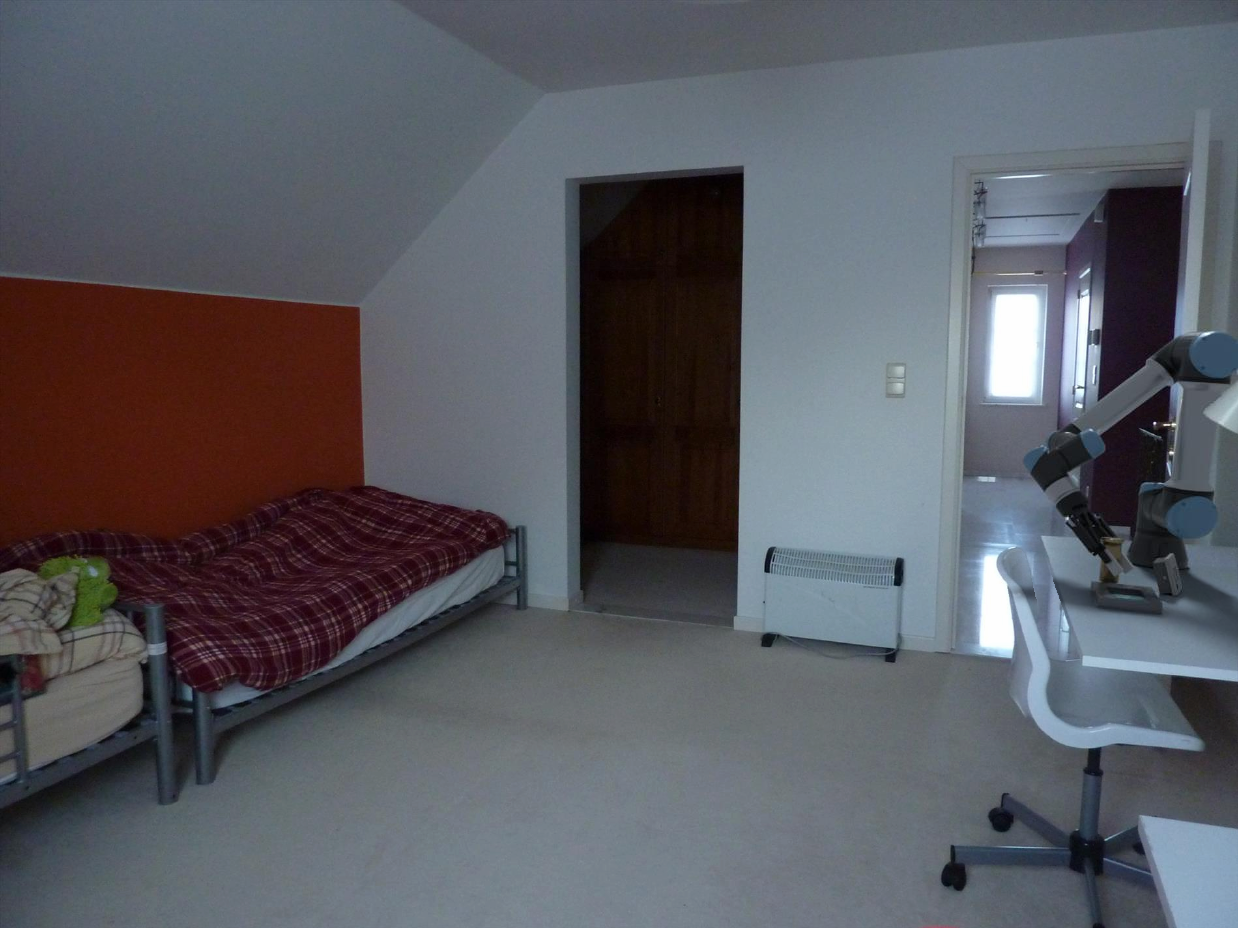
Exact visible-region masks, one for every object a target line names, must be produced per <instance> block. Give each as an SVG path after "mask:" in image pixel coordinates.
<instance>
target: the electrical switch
mask: <svg viewBox="0 0 1238 928" xmlns="http://www.w3.org/2000/svg"><path fill="white" fill-rule="evenodd" d="M1153 567H1154V568H1153ZM1153 567H1152V568H1153V572H1154V577H1155V579H1156V583H1157V584H1156V585H1157V589H1158V593H1159V594H1161V595H1162V594H1172V597H1175V596H1176V597H1177V596H1178V595H1179V594H1180V592H1181V591H1182V590H1183V586H1182V585H1183V584H1182V579H1181V575H1180V572H1179V571H1180V569H1178V567H1177V563H1176V559H1175V556H1174V553H1171V554H1169V555H1168V556H1167V557H1164V558H1157V559H1156V560H1155V561H1154V562H1153Z"/></svg>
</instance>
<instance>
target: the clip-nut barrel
mask: <svg viewBox="0 0 1238 928" xmlns="http://www.w3.org/2000/svg"><path fill="white" fill-rule="evenodd" d="M1101 541H1102V542H1101V543H1102V545H1103V546H1104V548H1105V549H1108V550H1109V551H1110V552H1111V554H1112V555H1113V556H1114V558H1115V559H1116V560H1117V562H1118V563H1119V564H1120V559H1121V551H1122V545H1123V544H1125V543H1124V542H1125V540H1124V539H1122V538H1119V537H1118V538H1113V537H1102V538H1101ZM1105 549H1104V550H1105ZM1099 565H1100V566H1099V576H1098V582H1105V583H1115V584H1119V583H1120V582H1119V581H1120V579H1119V578H1120V574H1118V575H1117V576H1114V575H1113V574H1112V573H1111V571H1110V570H1109V569H1108V567H1107V566H1106V565H1105V563H1104V562H1103V561H1102V560H1101V559H1100V563H1099Z"/></svg>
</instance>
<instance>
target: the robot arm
mask: <svg viewBox="0 0 1238 928" xmlns="http://www.w3.org/2000/svg"><path fill="white" fill-rule="evenodd" d="M1236 371H1238V340H1237V339H1236V338H1235V337H1234V336H1232V335H1231V334H1229V333H1227V332H1221V331H1216V330H1210V331H1192V332H1191V331H1190V332H1186V333H1183V334H1181V335H1178V336H1176V337H1175V338H1173V339H1172V340H1170V341H1169V342H1168V343H1165V345H1163V347H1161V348H1160V349H1159V350H1158V351H1156V352H1155V353H1154V354H1152V355H1151V356H1150V357H1149V358H1147V359H1146V361H1145V365H1144V366H1143V367H1141V368H1140V369H1139V370H1138V371H1137V372H1135V373H1134V374H1133V375H1131V376H1130V377H1129V378H1127V379H1126V380H1125V381H1123V382H1122V383H1121V384H1119V385H1118V386H1117V387H1115V388H1114V389H1113V390H1112V391H1110V392H1109V393H1108V394H1106V395H1105V396H1104V397H1103V398H1101V399H1100V400H1099V401H1097V402H1096V403H1094V404H1093V405H1092V406H1091V407H1089V408H1088V409H1086V410H1085V411H1084V412H1083V413H1081V414H1080V415H1078V417H1076V418H1075V419H1074V420H1072V421H1071V422H1070V423H1068V424H1067V425H1066V426H1064V427H1063V428H1062V429H1059V430H1055V431H1052V432H1050V433H1049V434H1048V436H1047V437H1046V439H1045V443H1044V444H1045V445H1039V446H1037V447H1035V448H1033V449H1031V450H1030V451H1028V452H1027V453H1026V454H1025V455H1024V456H1023V459H1022V464H1023V465H1024V467H1025V468H1026V470H1027V471H1028V473H1029V475H1030V476H1031V477H1032V478H1033V480H1035V482H1036V483H1037V485H1038V486H1039V487H1040V489H1041V490H1042V491H1043V492H1044V493H1045V494H1046V497H1047V499H1048V500H1050V501H1051V503H1052V504H1053V505H1055V508H1056V510H1057V511H1058V513H1059V514H1060V515H1061V517H1064V518H1068V520H1067V521H1065V523H1064V524H1066V526H1067V527H1068V528H1069V529H1070V530H1072V532H1073V533H1074V534H1075V536H1076V537H1077V539H1078V540H1079V541H1080V543H1082V545H1083V546H1084V548H1085V549H1086V550H1087V552H1088V553H1090V554H1092V556H1094V557H1096V556H1098V557H1099V558H1100V561H1101V560H1102V561H1103V562H1104V563H1105V565H1106V566H1107V567H1108V569H1109V570H1110V571H1111V573H1112V574H1113V575H1114V576H1117V575H1118V574H1119V575H1120V574H1121V573H1122V572H1123V573H1124V574H1125V575H1127V574H1129V573H1131V571H1133V570H1134V569H1135V566H1134V565H1138V566H1142V567H1148V568H1153V569H1154V567H1153V562H1154V561H1155V560H1156V559H1157V558H1164V557H1167V556H1168V555H1169V554H1171V553H1174V556H1175V559H1176V563H1177V567H1178V569H1179V570H1184V569H1187V568H1188V567H1189V557H1188V552H1187V548H1186V545H1185V540H1184V539H1186V540H1197V539H1202V538H1204V537H1206V536H1208V535H1209V534H1211V533H1212V532H1213V531H1214V529H1216V527H1217V525H1218V523H1219V519H1220V513H1219V510H1218V507H1217V506H1216V504H1215V503H1214V498H1215V488H1214V487H1213V485H1211V484H1210V477H1211V469H1212V463H1213V462H1212V461H1213V454H1214V451H1215V450H1214V449H1215V442H1216V437H1217V428H1218V423H1217V424H1216V423H1214V422H1213V421H1211V420H1210V419H1208V418H1206V417H1205V415H1204V414H1203V412H1204V410H1205V408H1207V407H1208V406H1210V404H1212V403H1214V401H1216V400H1217V399H1218V398H1219V397H1221V398H1222V393H1223V391H1224V390H1226V389H1227V388H1228V387H1230V385H1231V382H1232V381H1231V380H1232V375H1233V374H1234V373H1235V372H1236ZM1177 383H1178V384H1179V385H1180V386H1181V387H1182V389H1183V390H1182V397H1181V405H1180V411H1179V420H1178V425H1177V434H1176V441H1175V449H1174V455H1173V462H1172V470H1171V476H1170V479H1168V480H1166V482H1164V483H1163V482H1144V483H1142V484H1141V485H1140V489H1139V492H1138V501H1137V502H1138V504H1137V512H1136V514H1137V515H1136V528H1135V535H1134V536H1133V539H1132V541H1131V543H1130V545H1129V547H1128V549H1127V551H1126V554H1125V553H1124V552H1123V550H1121V559H1120V564H1119V563H1118V562H1117V560H1116V559H1115V558H1114V556H1113V555H1112V554H1111V552H1110V551H1109V550H1108V549H1105V548H1104V546H1103V545H1102V541H1101V538H1102V537H1113V538H1119V537H1118V536H1117V535H1116V533H1115V532H1114V531H1113V530H1112V528H1111V527H1110V526H1109V524H1108V523H1107V522H1106V521H1105V518H1104V517H1103V515H1102V513H1100V512H1098V513H1094V512H1093V511H1092V510H1091V509H1089V508H1088V505H1089V502H1090V501H1089V499H1088V498H1087V496H1086V495H1085V494H1084V493H1083V491H1082V490H1081V491H1080V487H1079V486H1078V485H1077V483H1076V482H1075V481H1074V480H1073V478H1071V477H1070V475H1069V473H1070V472H1072V471H1074V470H1075V469H1077V468H1079V467H1081V466H1083V465H1085V464H1087V463H1088V462H1090V461H1093V460H1094V459H1097V457H1100V456H1101V455H1102V454H1103V453H1104V452H1105V451H1106V444H1105V442H1104V441H1103V439H1102V437H1101V435H1102V434H1103V433H1104V432H1106V431H1108V430H1109V429H1111V428H1112V427H1113V426H1114V425H1115V424H1117V423H1118V422H1119V421H1121V420H1122V419H1123V418H1124V417H1126V416H1127V415H1129V414H1130V413H1132V412H1133V411H1134V410H1135V409H1137V408H1138V407H1139V406H1141V405H1142V404H1143V403H1145V402H1146V401H1147V400H1149V399H1151V398H1152V397H1153V396H1154V395H1155V394H1157V393H1158V392H1159V391H1161V390H1162V389H1163V388H1165V387H1167V386H1168V387H1173V386H1174V385H1175V384H1177ZM1104 549H1105V550H1104ZM1133 564H1134V565H1133Z"/></svg>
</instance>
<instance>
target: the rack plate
mask: <svg viewBox="0 0 1238 928" xmlns="http://www.w3.org/2000/svg"><path fill="white" fill-rule="evenodd" d="M1089 590H1090V593H1091V595H1092V597H1093V600H1094V602H1095V605H1096V608H1100V609H1101V608H1102V609H1109V610H1118V611H1127V612H1136V613H1144V614H1152V615H1153V614H1154V615H1161V616H1162V614H1163V605H1164V603H1163V602H1162V601H1161V599H1160V597H1159V596H1158V595H1157V594H1156V592H1155V590H1154V589H1153V588H1152V587H1151V586H1144V585H1143V586H1142V585H1134V584H1133V585H1131V584H1123V583H1105V582H1101V581H1095V580H1091V581H1090V589H1089Z"/></svg>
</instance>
